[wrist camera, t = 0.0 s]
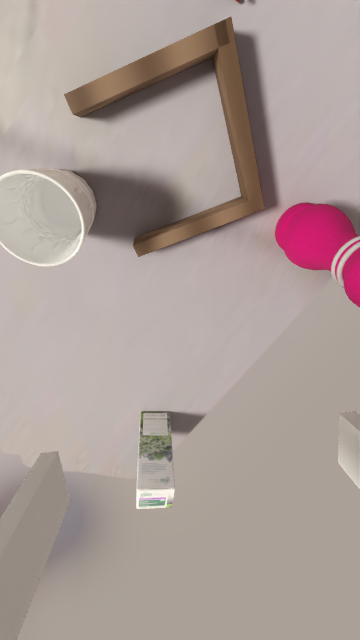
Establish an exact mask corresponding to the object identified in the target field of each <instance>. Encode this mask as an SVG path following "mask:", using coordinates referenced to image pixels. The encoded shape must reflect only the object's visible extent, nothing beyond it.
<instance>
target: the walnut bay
mask: <svg viewBox="0 0 360 640" xmlns="http://www.w3.org/2000/svg"><path fill="white" fill-rule="evenodd" d="M210 58H212V59H213V64H214V68H215V73H216V78H217V83H218V87H219V92H220V97H221V102H222V106H223V111H224V116H225V120H226V125H227V130H228V135H229V139H230V144H231V149H232V154H233V158H234V163H235V168H236V173H237V177H238V182H239V187H240V192H241V197H239V198H236V199H233V200H231V201H228V202H226V203H223V204H221V205H218V206H216V207H213V208H210V209H208V210H205V211H203V212H200V213H198V214H195V215H192V216H190V217H187V218H185V219H182V220H180V221H177V222H174V223H172V224H169V225H167V226H164V227H162V228H159V229H157V230H154V231H151V232H149V233H146V234H144V235H141V236H139V237H136V238H134V243H133V246H134V249H135V251H136V253H137V255H138V257H140V256H142V255H145V254H147V253H150V252H153V251H155V250H158V249H161V248H163V247H166V246H168V245H171V244H174V243H176V242H179V241H182V240H184V239H187V238H189V237H192V236H195V235H197V234H200V233H203V232H205V231H208V230H210V229H213V228H216V227H218V226H221V225H224V224H226V223H229V222H231V221H234V220H237V219H239V218H242V217H245V216H247V215H250V214H252V213H255V212H258V211H260V210H263V209H264V204H263V198H262V192H261V186H260V181H259V175H258V169H257V163H256V157H255V152H254V146H253V140H252V134H251V128H250V123H249V117H248V111H247V105H246V99H245V93H244V88H243V82H242V76H241V70H240V64H239V59H238V53H237V47H236V41H235V35H234V30H233V24H232V18H231V17H229V18H227V19H225V20H223V21H221V22H218V23H216V24H214V25H212V26H210V27H208V28H206V29H203V30H201V31H199V32H197V33H195V34H193V35H191V36H188V37H186V38H184V39H182V40H180V41H178V42H176V43H173V44H171V45H169V46H167V47H165V48H163V49H161V50H158V51H156V52H154V53H152V54H150V55H148V56H146V57H143V58H141V59H139V60H137V61H135V62H133V63H131V64H128V65H126V66H124V67H122V68H120V69H118V70H116V71H113V72H111V73H109V74H107V75H105V76H103V77H101V78H98V79H96V80H94V81H92V82H90V83H88V84H86V85H83V86H81V87H79V88H77V89H75V90H73V91H71V92H68V93H66V94H64V96H65V98H66V100H67V102H68V105H69V107H70V109H71V111H72V113H73V115H76V116H78V117H82V116H84V115H86V114H89V113H91V112H93V111H95V110H97V109H100V108H102V107H104V106H106V105H108V104H111V103H113V102H115V101H117V100H119V99H122V98H124V97H126V96H128V95H130V94H133V93H135V92H137V91H139V90H142V89H144V88H146V87H148V86H150V85H153V84H155V83H157V82H159V81H161V80H164V79H166V78H168V77H170V76H172V75H175V74H177V73H179V72H181V71H183V70H186V69H188V68H190V67H192V66H194V65H197V64H199V63H201V62H203V61H206V60H208V59H210Z"/></svg>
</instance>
